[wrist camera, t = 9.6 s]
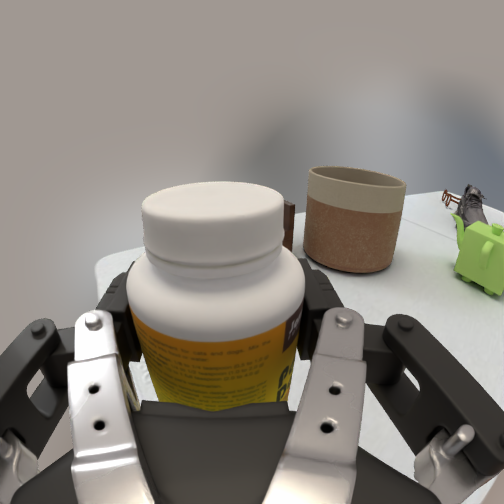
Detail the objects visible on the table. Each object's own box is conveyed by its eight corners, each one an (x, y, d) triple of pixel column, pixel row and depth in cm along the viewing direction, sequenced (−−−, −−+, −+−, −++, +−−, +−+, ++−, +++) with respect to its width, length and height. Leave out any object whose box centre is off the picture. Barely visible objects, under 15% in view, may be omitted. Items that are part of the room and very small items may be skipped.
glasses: (441, 200, 92) (443, 187, 90) (469, 207, 87) (471, 195, 85) (446, 208, 82) (449, 194, 79) (477, 216, 76) (480, 203, 74)
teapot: (522, 305, 31) (544, 248, 26) (472, 304, 33) (495, 239, 28) (486, 264, 44) (500, 215, 40) (438, 259, 46) (451, 205, 42)
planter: (367, 235, 56) (376, 169, 50) (407, 273, 42) (425, 190, 36) (293, 236, 54) (297, 164, 48) (318, 279, 40) (329, 183, 34)
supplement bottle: (289, 462, 10) (342, 233, 5) (159, 456, 10) (70, 233, 5) (279, 371, 15) (296, 177, 10) (177, 369, 15) (148, 178, 10)
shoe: (460, 241, 55) (471, 193, 50) (449, 213, 76) (455, 177, 71) (494, 251, 50) (506, 204, 45) (475, 220, 72) (482, 185, 66)
